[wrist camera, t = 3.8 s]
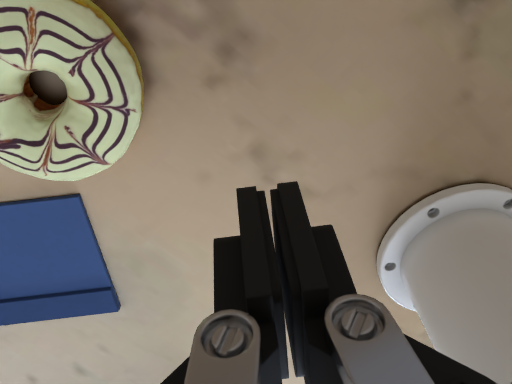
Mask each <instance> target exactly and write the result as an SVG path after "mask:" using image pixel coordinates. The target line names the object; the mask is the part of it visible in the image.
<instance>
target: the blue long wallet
mask: <svg viewBox="0 0 512 384" xmlns="http://www.w3.org/2000/svg"><path fill="white" fill-rule="evenodd" d="M119 309H120V303H119V300H118V298H117V295H116V292H115V289H114V287H113V284H112V281H111V279H110V276H109V273H108V270H107V268H106V265H105V262H104V259H103V257H102V254H101V251H100V248H99V246H98V243H97V240H96V237H95V235H94V232H93V229H92V227H91V224H90V221H89V218H88V216H87V213H86V210H85V207H84V205H83V202H82V199H81V196H80V194H75V195H66V196H58V197H49V198H40V199H32V200H23V201H14V202H5V203H0V326H1V325H10V324H18V323H27V322H35V321H43V320H52V319H60V318H69V317H77V316H85V315H94V314H102V313H111V312H118V310H119Z"/></svg>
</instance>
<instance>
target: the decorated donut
mask: <svg viewBox="0 0 512 384" xmlns="http://www.w3.org/2000/svg"><path fill="white" fill-rule="evenodd" d="M41 70H46V71H50V72H53V73H55V74H57V75H58V76H59V78H60V79H61V80H62V81H64V83H65V86H66V89H67V99H65V101H64V102H63V103H62V104H58V105H57V104H56V105H50V104H47V103H45V102H44V101H42V100H41V99H39V98H38V96H37V95H36V94H34V92H33V90H32V89H31V88H30V84H29V82H28V81H30V80H29V75H30V73H32V72H35V71H41ZM143 85H144V81H143V78H142V71H141V67H140V64H139V61H138V59H137V56H136V54H135V52H134V50H133V48H132V47H131V45H130V43H129V42H128V40H127V39H126V37H125V36H124V35H123V33H122V32H121V31H120V29H119V28H118V27H117V25H116V24H115V23H114V22H113V21H112V20H111V19H110V18H109V16H108V15H106V13H104V11H102V9H100V8H99V7H98V6H97V5H95V4H94V3H93V2H92V1H90V0H0V163H2V164H4V165H5V166H7V167H9V168H11V169H13V170H16V171H18V172H21V173H25V174H28V175H31V176H35V177H37V178H42V179H48V180H56V181H62V180H65V181H77V180H80V179H84V178H86V177H88V176H91V175H94V174H96V173H98V172H100V171H103V170H105V169H107V168H109V167H110V166H111V165H113V164H114V163H115V162H116V161H117V160H118V159H119V158H121V157H122V156H123V155H124V154H125V152H126V151H127V149H128V148H129V146H130V142H131V141H132V139H133V138H134V135H135V133H136V131H137V129H138V127H139V122H140V120H141V116H142V112H143V97H144V86H143Z"/></svg>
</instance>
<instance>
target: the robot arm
mask: <svg viewBox="0 0 512 384" xmlns="http://www.w3.org/2000/svg"><path fill="white" fill-rule="evenodd" d="M236 191H237V202H238V214H239V225H240V236H232V237H224V238H216V239H214V313H213V314H211V315H210V316H208V317H207V318H205V319H204V320H203V321H202V322H201V324H200V325H199V326H198V327H197V330H196V332H195V335H194V339H193V344H192V348H191V353H190V356H189V357H188V358H187V359H186V360H185V361H184V362H183V363H182V364H181V365H180V366H179V367H178V368H177V369H176V370H174V371H173V372H172V373H171V374H170V375H169V376H168V377H167V378H166V379H165V380H164V381H163V382H162V383H161V384H282V379H287V378H289V371H288V358H287V345H286V332H285V319H286V325H287V330H288V336H289V342H290V347H291V353H292V359H293V365H294V370H295V375H296V377H302V376H304V380H305V384H512V190H511V189H509V188H507V187H504V186H499V185H495V184H484V183H475V184H466V185H460V186H456V187H452V188H448V189H445V190H442V191H440V192H438V193H435V194H433V195H431V196H428V197H426V198H425V199H423V200H422V201H420V202H418V203H417V204H415V205H413V206H412V207H411V208H410V209H408V210H407V211H406V212H405V213H403V214H402V215H401V216H400V217H399V218H398V219H397V220H396V221H395V223H394V224H393V225H392V226H391V227H390V228H389V230H388V232H387V233H386V235H385V236H384V238H383V240H382V242H381V245H380V247H379V250H378V255H377V262H376V265H377V273H378V276H379V279H380V281H381V284H382V286H383V288H384V290H385V291H386V293H387V295H388V296H389V297H390V298H391V299H392V300H393V301H395V302H396V303H398V304H399V305H401V306H403V307H404V308H407V309H410V310H412V311H416V312H417V313H418V315H419V317H420V320H421V322H422V324H423V326H424V328H425V330H426V332H427V334H428V336H429V338H430V340H431V342H432V344H433V347H434V349H435V350H434V349H432V348H430V347H428V346H426V345H424V344H422V343H420V342H418V341H416V340H414V339H413V338H411V337H409V336H407V335H405V334H403V333H402V331H401V329H400V328H399V326H398V325H397V323H396V321H395V320H394V318H393V317H392V315H391V314H390V312H389V311H388V309H387V308H386V307H385V306H384V305H383V304H382V303H381V302H379V301H378V300H376V299H374V298H372V297H369V296H366V295H360V294H357V292H356V289H355V286H354V284H353V281H352V278H351V275H350V273H349V270H348V267H347V264H346V261H345V259H344V256H343V253H342V250H341V248H340V245H339V242H338V239H337V237H336V234H335V231H334V229H333V226H332V225H323V226H315V227H311V226H310V223H309V219H308V216H307V212H306V209H305V206H304V202H303V199H302V196H301V192H300V189H299V185H298V182H297V181H296V182H287V183H279V184H277V189H273V190H270V194H271V206H272V218H273V230H274V242H275V248H274V243H273V237H272V231H271V226H270V220H269V215H268V209H267V203H266V198H265V192H264V191H256V186H254V187H245V188H237V189H236ZM284 313H285V319H284Z"/></svg>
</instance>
